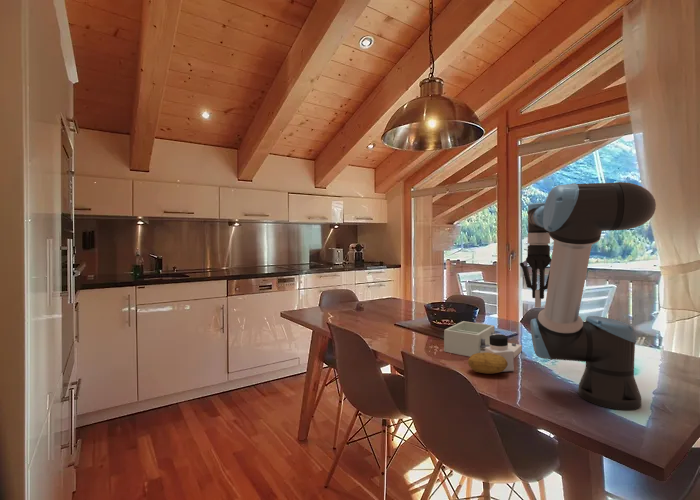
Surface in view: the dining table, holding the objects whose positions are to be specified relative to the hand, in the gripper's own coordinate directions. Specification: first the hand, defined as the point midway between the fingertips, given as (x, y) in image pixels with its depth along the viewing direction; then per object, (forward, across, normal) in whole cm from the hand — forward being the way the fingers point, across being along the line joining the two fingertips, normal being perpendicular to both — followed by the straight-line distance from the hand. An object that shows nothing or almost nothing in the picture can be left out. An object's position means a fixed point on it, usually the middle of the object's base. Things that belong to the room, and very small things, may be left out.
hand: (537, 307), depth 142 cm
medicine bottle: (+21, +9, +17) cm, 28 cm away
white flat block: (+21, +14, -2) cm, 25 cm away
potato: (+21, +11, +24) cm, 33 cm away
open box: (+21, +24, 0) cm, 32 cm away
